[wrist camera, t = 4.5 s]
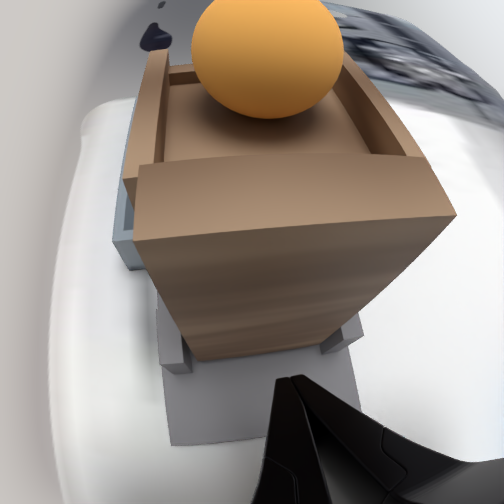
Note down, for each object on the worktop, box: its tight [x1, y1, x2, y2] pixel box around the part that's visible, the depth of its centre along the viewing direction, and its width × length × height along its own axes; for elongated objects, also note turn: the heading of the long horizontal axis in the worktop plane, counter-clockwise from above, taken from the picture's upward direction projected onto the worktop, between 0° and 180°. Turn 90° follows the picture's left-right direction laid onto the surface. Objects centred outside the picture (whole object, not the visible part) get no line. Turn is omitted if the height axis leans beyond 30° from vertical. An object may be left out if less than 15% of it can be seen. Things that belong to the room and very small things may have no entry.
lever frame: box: [156, 291, 364, 446], centre depth 15 cm, size 10×10×4 cm
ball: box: [191, 0, 344, 119], centre depth 7 cm, size 4×4×4 cm
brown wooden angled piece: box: [122, 49, 457, 361], centre depth 11 cm, size 8×7×11 cm
